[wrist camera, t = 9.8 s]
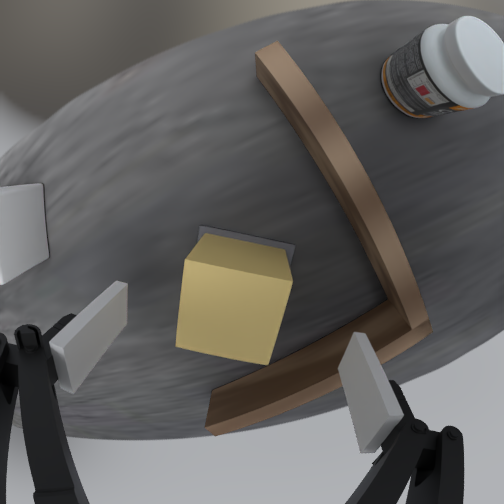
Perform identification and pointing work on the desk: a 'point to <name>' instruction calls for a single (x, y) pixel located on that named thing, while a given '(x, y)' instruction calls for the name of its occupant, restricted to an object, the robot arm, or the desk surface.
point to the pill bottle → (446, 69)
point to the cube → (233, 298)
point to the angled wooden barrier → (374, 243)
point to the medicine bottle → (21, 229)
